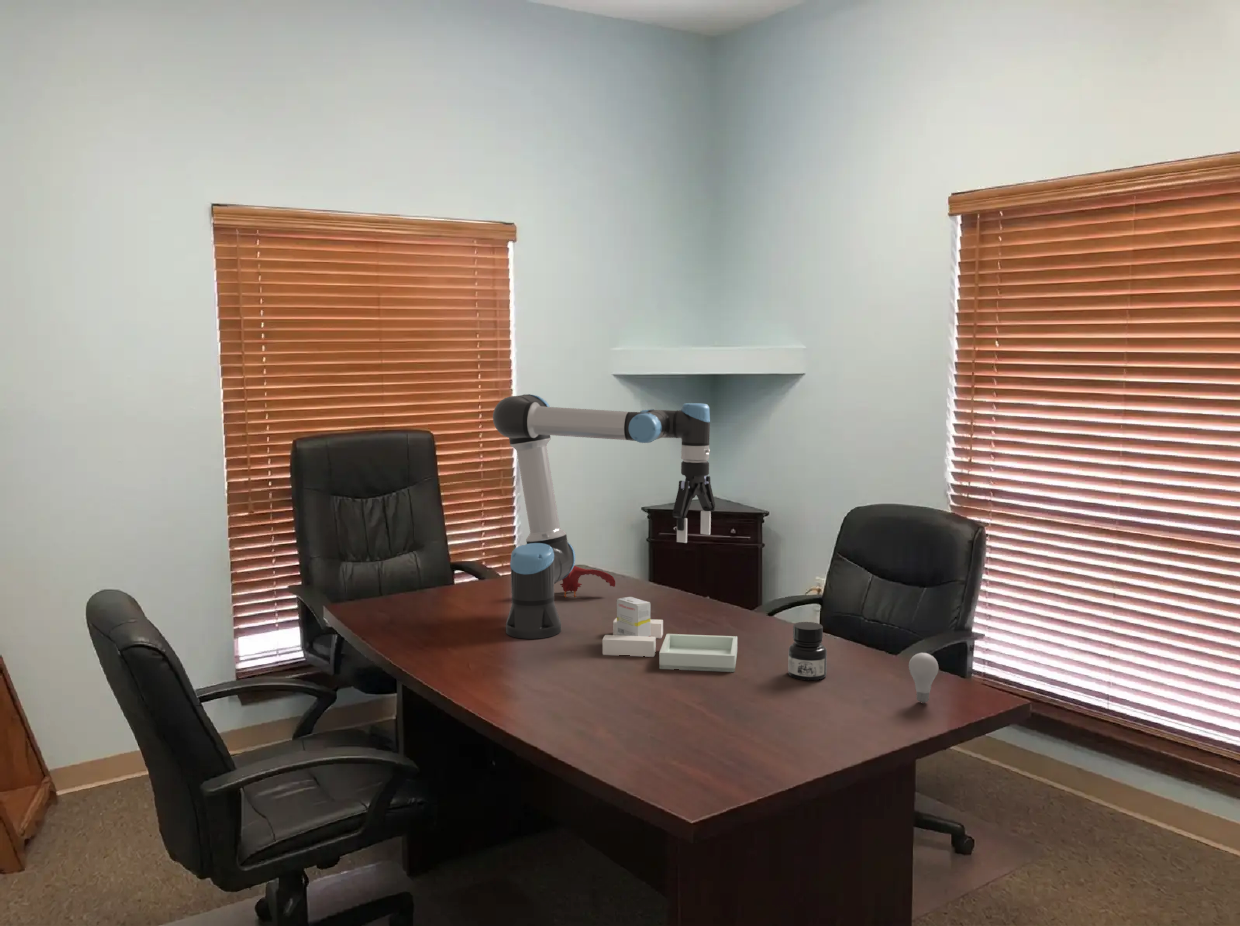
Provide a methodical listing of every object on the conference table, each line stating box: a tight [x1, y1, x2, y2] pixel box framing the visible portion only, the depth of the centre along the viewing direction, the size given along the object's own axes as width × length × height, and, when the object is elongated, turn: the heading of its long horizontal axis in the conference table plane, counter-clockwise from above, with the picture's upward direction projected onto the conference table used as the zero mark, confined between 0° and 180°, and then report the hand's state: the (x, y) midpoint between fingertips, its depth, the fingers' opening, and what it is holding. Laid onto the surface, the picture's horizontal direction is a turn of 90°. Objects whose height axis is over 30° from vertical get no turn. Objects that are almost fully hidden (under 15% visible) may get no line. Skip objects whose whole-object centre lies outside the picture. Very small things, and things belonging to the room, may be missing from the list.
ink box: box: [616, 596, 651, 637], centre depth 252 cm, size 9×5×12 cm, turn 39°
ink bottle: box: [787, 621, 828, 681], centre depth 227 cm, size 10×9×12 cm
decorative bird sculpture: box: [559, 565, 616, 598], centre depth 303 cm, size 28×9×15 cm
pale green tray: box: [658, 633, 738, 673], centre depth 239 cm, size 18×16×4 cm
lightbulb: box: [908, 652, 940, 704], centre depth 208 cm, size 6×6×11 cm
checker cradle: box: [602, 617, 664, 658], centre depth 253 cm, size 13×20×4 cm, turn 171°
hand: (693, 538), depth 263 cm, fingers open, 13 cm apart
